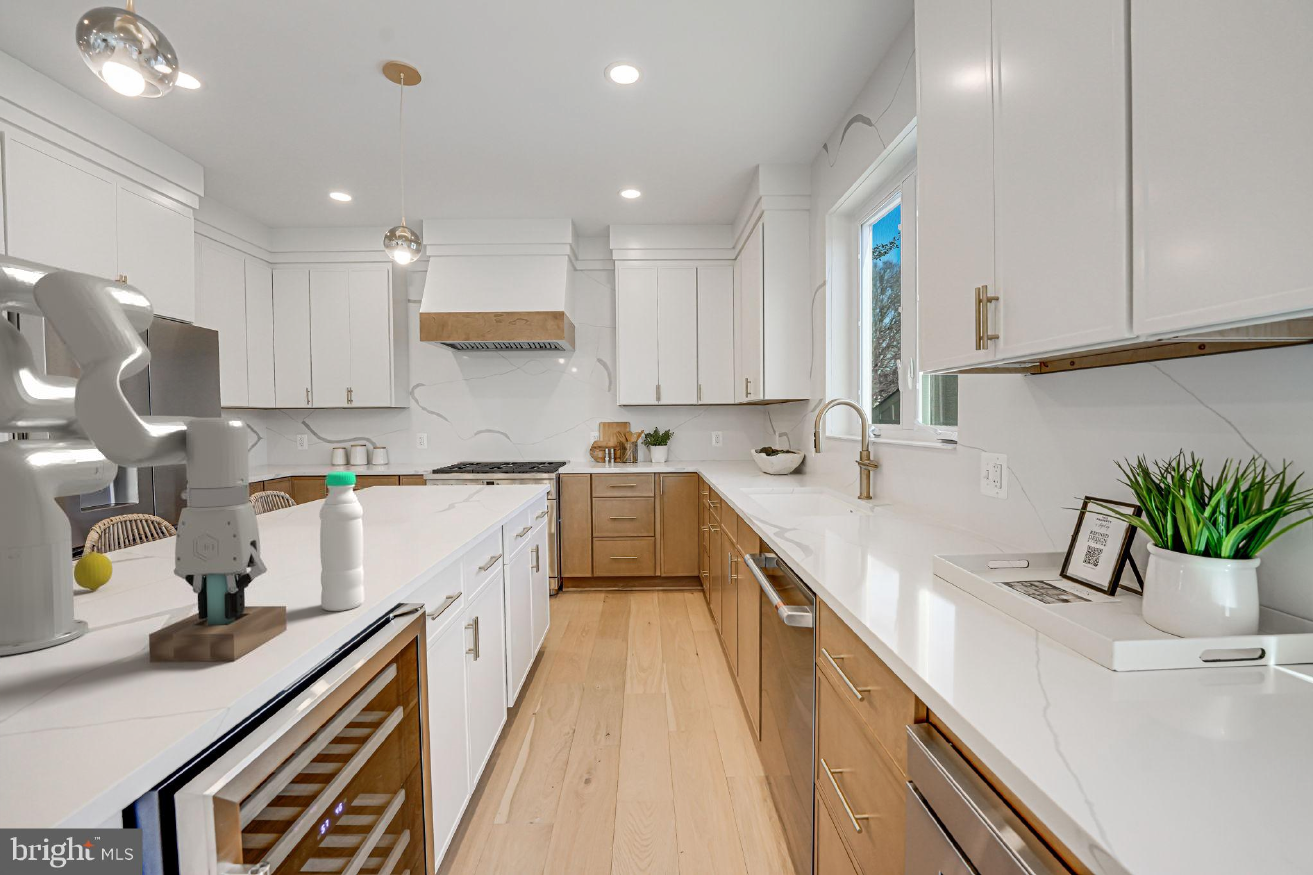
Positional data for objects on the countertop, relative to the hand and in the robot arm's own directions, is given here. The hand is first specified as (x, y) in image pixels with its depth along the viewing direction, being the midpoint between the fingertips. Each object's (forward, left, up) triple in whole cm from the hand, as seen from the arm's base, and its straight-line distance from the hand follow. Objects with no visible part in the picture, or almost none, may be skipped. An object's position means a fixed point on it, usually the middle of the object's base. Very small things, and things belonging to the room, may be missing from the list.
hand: (221, 614), depth 88 cm
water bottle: (+9, +18, -5) cm, 21 cm away
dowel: (0, 0, -2) cm, 2 cm away
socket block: (0, 0, -5) cm, 5 cm away
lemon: (-46, +28, -5) cm, 54 cm away
